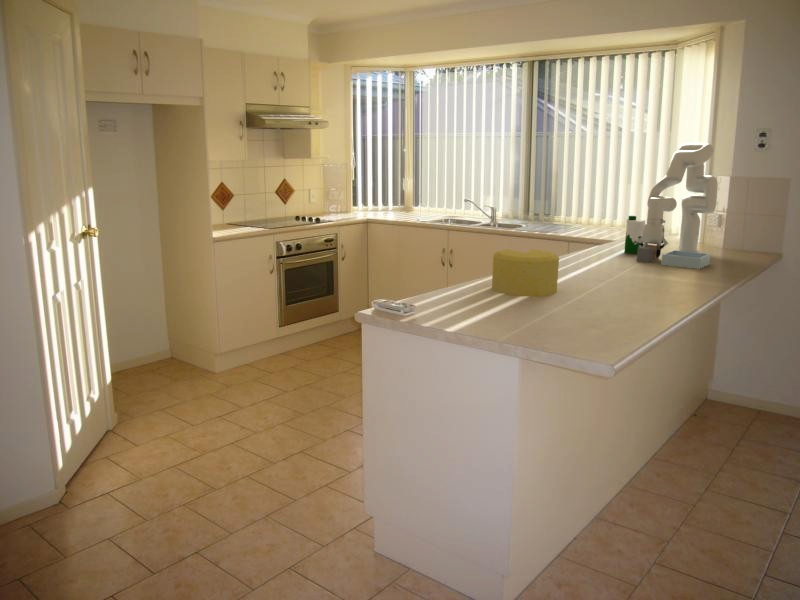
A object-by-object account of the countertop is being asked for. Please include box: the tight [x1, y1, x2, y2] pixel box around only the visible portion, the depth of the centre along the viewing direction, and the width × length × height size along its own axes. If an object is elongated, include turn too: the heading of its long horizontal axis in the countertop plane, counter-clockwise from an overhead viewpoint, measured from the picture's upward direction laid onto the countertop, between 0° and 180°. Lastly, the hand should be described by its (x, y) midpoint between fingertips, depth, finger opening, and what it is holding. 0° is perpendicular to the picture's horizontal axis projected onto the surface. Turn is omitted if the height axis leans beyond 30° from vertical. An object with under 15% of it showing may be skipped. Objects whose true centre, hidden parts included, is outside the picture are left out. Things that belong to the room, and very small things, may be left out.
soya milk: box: [623, 215, 646, 255], centre depth 374 cm, size 9×9×20 cm
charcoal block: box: [636, 247, 654, 264], centre depth 349 cm, size 6×6×7 cm
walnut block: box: [644, 243, 660, 261], centre depth 357 cm, size 6×6×7 cm
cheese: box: [491, 248, 560, 297], centre depth 277 cm, size 26×26×15 cm
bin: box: [661, 249, 711, 270], centre depth 341 cm, size 18×18×5 cm
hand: (651, 256), depth 357 cm, fingers closed on walnut block, 6 cm apart
